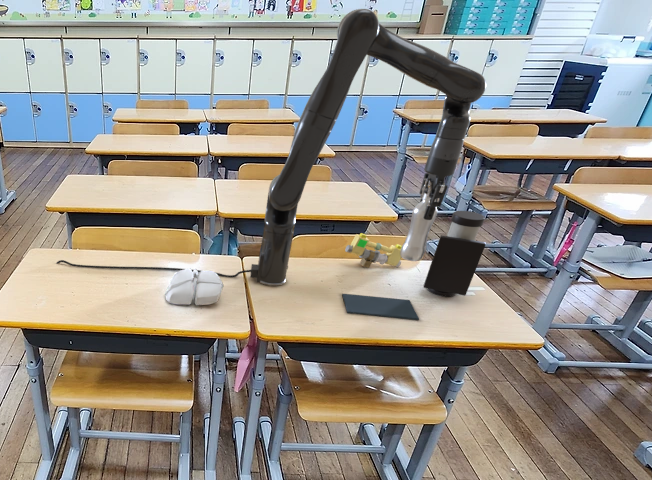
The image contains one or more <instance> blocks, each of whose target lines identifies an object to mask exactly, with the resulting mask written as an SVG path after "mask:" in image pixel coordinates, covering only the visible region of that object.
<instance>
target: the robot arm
mask: <svg viewBox="0 0 652 480" xmlns="http://www.w3.org/2000/svg"><path fill="white" fill-rule="evenodd" d="M336 38H337V39H336V43H335V47H334V50H333V52H332V55H331V57H330V61H329V62H328V65H327V67H326V69H325V71H324V73H323V75H322V76H321V77H320V79H319V81H318V82H317V84H316V86H315V87H314V89H313V91H312V92H311V94H310V96H309V98H308V100H307V101H306V104H305V106H304V108H303V111H302V113H301V115H300V117H299V119H298V123H297V125H296V129H295V130H294V134H293V138H292V141H291V145H290V149H289V152H288V156H287V159H286V161H285V163H284V165H283V167H282V169H281V171H280V173H279V174H278V175H276V176H274V178H273V179H272V180H271V182H270V184H269V187H268V193H267V200H266V207H265V214H264V223H263V231H262V237H261V242H260V243H261V244H260V249H259V254H258V255H259V256H258V261H257V264H256V263H255V264H254V263H251V266H250V269H244V270H240V271H238V272H237V273H235V274H232V275H229V274H227V275H226V274H223V273H220V272H216V273H217V275H218V276H219V277H223V278H237V277H238V276H239V275H241V274H245V273H250V278H251V279H255V280H256V281H255V282H256V283H257V284H262V285H265V286H269V287H279V286H282V285H285V283H286V280H287V273H288V269H289V261H290V255H291V250H292V244H293V238H294V235H295V234H294V233H295V227H296V219H297V210H298V206H299V203H300V200H301V199H302V195H303V193H304V189H305V186H306V184H307V181H308V179H309V176H310V173H311V171H312V168H313V167H314V164H315V163H316V161H317V159H318V158H319V156H320V154H321V152H322V150H323V148H324V146H325V145H326V142H327V141H328V139H329V137H330V135H331V133H332V131H333V130H334V126H335V125H336V122H337V120H338V118H339V116H340V113H341V112H342V109H343V107H344V104H345V101H346V99H347V96H348V94H349V91H350V89H351V86H352V83H353V81H354V79H355V77H356V74H357V73H358V72H359V69H360V67H361V66H362V64H363V62H364V60H365V59H366V58H367V56H369V57H372V58H375V59H376V60H379V61H381V62H383V63H385V64H387V65H389V66H390V67H392V68H394V69H396V70H397V71H398V72H400V73H402V74H404V75H405V76H407V77H409V78H410V79H412V80H415V81H416V82H418V83H421V85H425V86H426V87H428V88H430V89H435V90H438V91H439V92H440V93H442V94H444V95H445V96H444V101H443V107H442V115H441V119H440V121H439V124H438V127H437V131H436V134H435V137H434V139H433V141H432V143H431V146H430V150H429V153H428V156H427V159H426V162H425V165H424V170H423V171H424V174H423V179H422V182H421V186H420V190H419V195H420V196H419V197H420V198H419V199H420V200H419V203H420V202H421V201H422V200H423V199H422V197H423V195H424V193H425V192H428V194H427V198H428V206H427V208H426V211H425V214H424V217H423V218H424V219H425V220H432V218H433V215H434V212H435V209H436V207H437V208H441V206H442V203H443V200H444V198H445V195H446V193H447V190H448V185H447V184H446V183H445V181H446V177H450V176H453V175H454V173H455V171H456V167H457V165H458V163H459V159H460V156H461V153H462V150H463V147H464V143H465V138H466V135H467V132H468V130H469V127H470V123H471V116H470V111H471V110H470V109H471V105H472V103H473V104H474V103H475V102H477V101H478V100H480V99H481V98H482V96H483V95H484V94H485V92H486V89H487V81H486V79H485V76H483V75H482V74H481V73H480V72H478V71H475V70H473V69H470V68H468V67H466V66H463V65H461V64H458V63H456V62H454V61H453V60H451V59H450V58H448V57H446V56H445V55H443V54H441V53H439V52H437V51H435V50H433V49H431V48H430V47H427V46H425V45H423V44H420V43H418V42H415V41H412V40H409V39H406V38H404V37H402V36H400V35H398V34H396V33H394V32H392V31H391V30H389V29H387V28H386V27H385V26H384V25H382V24H381V23H380V22H379V18H378V16H377V15H376V13H375V12H374V11H373V10H371V9H367V8H358V9H353V10H351V11H349V12H347V14H346V15H344V16H343V18H341V20H340V22H339V23H338V26H337V30H336ZM432 194H434V195H432ZM435 199H436V202H434V201H435ZM60 263H64V264H65V265H69V266H70V267H76V268H88V269H90V268H92V269H111V270H112V269H113V270H114V269H115V270H116V269H118V270H161V271H164V270H165V271H177V272H178V271H180V270H184V269H185V268H181V267H180V268H179V267H164V266H163V267H162V266H118V265H117V266H112V265H109V266H108V265H91V264H89V265H88V264H75V263H72V262H69V261H66V260H63V259H60V260H58V261H56V263H55V264H56V265H59V264H60ZM191 270H192V272H193V270H194V269H192V268H191ZM197 271H198V273H200V272H201V271H202V269H201V270H200V269H197Z"/></svg>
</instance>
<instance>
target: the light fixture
mask: <svg viewBox="0 0 652 480" xmlns="http://www.w3.org/2000/svg"><path fill="white" fill-rule="evenodd" d="M485 220H486V216H485V215H483V214H481V213H478V212H474V211H470V210H456V211H453V213H452V215H451V219H450V221H451V223H450V226H449V230H448V232H447V235H442V234H441V235H440V236H439V240H438V242H437V245H436V248H435V251H434V254H433V257H432V260H431V263H430V265H429V268H428V272H427V274H426V277H425V280H424V282H423V283H424V284H423V288H424V289H427V290H428V291H429V292H430V293H431V294H434V295H435V296H440V297H445V298H447V297H448V298H451V297H454V296H456V295H458V296H459V295H460V296H463V297H465V296H466V295H467V294H468V290H469V288H470V286H471V283H472V281H473V278H474V275H475V273H476V270H477V268H478V266H479V263H480V260H481V258H482V255H483V253H484V251H485V248H486V245H487V244H486V242H485V241H480V240H476V239H477V236H478V234H479V231H480V228H481V227H482V226H483V225H484V223H485Z"/></svg>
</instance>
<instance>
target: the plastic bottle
mask: <svg viewBox="0 0 652 480" xmlns="http://www.w3.org/2000/svg"><path fill="white" fill-rule="evenodd" d="M427 194H428V192H425V193H424V195H423V197H422V198H421V199H423V200H422V201H421V202H420V201H419V202H418V203H417V204H416V205H415V206H414V207H413V209H412V213H411V219H410V225H409V229H408V233H407V235H406V237H405V240H404V242H403V243H402V245H401V246H402V248H401V251H400V255H401V257H402V258H401V259H403V260H405V261H409V262H419V261H420V260H422V259H423V257H424V255H425V252H426V245H427V241H428V236H429V234H430V231H431V229H432V226H433V224H434V222H435V220H436V218H437V216H438V209H437V208H438V207H436V209H435V212H434V215H433V218H432V220H425V219H424V218H423V217H424V214H425V211H426V208H427V206H428V198H427ZM432 195H434V194H432ZM434 202H436V199H435V201H434Z"/></svg>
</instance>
